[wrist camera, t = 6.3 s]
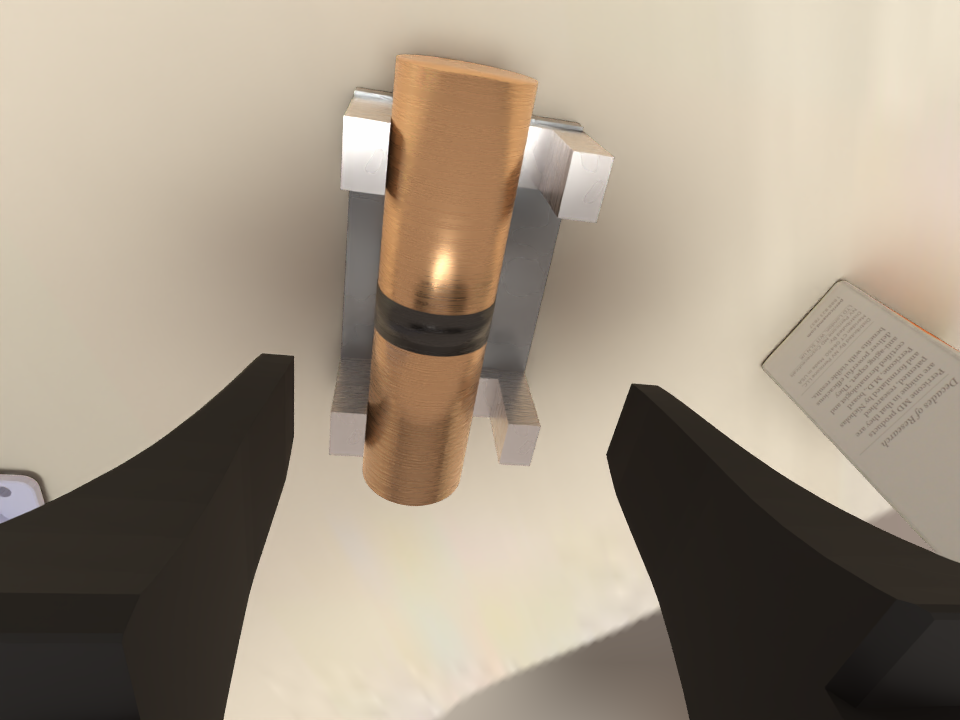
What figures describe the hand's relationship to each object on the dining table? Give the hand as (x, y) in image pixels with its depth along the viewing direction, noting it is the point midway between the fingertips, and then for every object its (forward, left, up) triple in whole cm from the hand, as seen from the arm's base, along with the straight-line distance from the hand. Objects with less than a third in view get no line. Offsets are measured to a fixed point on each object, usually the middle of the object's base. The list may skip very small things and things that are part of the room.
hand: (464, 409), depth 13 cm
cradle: (0, 0, -7) cm, 7 cm away
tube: (0, 0, -6) cm, 6 cm away
